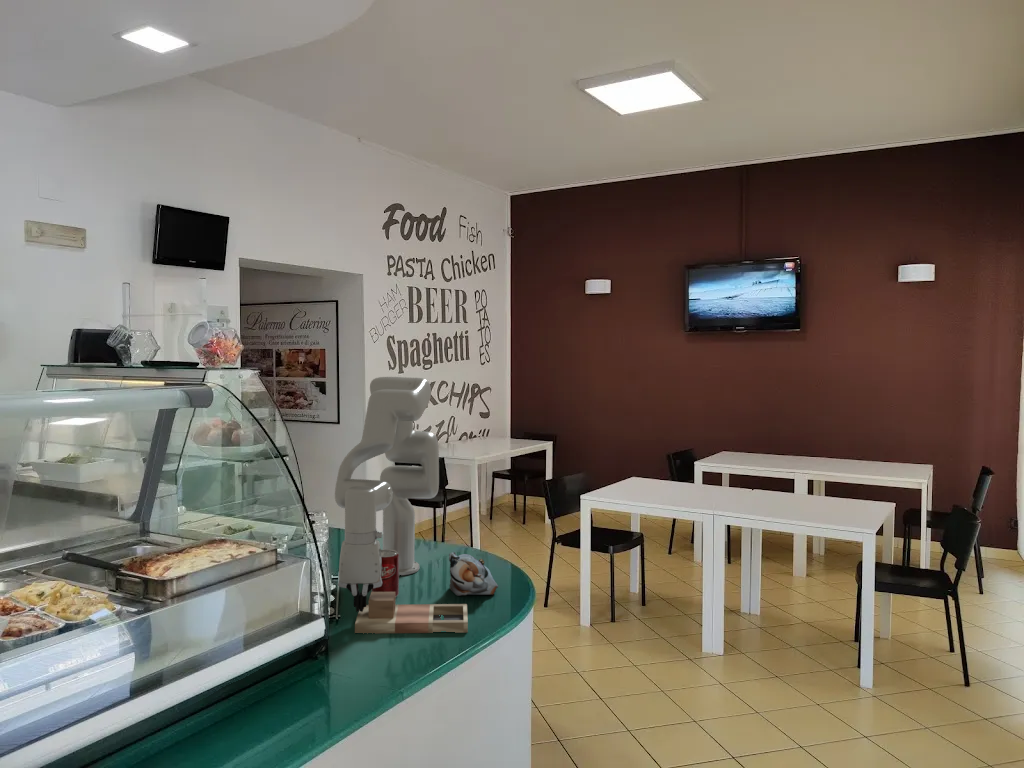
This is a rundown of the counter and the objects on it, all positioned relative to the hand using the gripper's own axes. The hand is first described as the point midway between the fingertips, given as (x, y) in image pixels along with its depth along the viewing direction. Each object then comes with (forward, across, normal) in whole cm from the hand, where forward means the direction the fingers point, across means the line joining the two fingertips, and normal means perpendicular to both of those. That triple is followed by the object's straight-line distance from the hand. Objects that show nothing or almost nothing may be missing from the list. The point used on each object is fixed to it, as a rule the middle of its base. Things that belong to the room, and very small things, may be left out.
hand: (360, 609), depth 187 cm
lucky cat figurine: (+4, -28, -21) cm, 35 cm away
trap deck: (+4, -13, 0) cm, 13 cm away
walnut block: (+1, -5, 0) cm, 6 cm away
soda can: (+4, -4, -19) cm, 20 cm away
